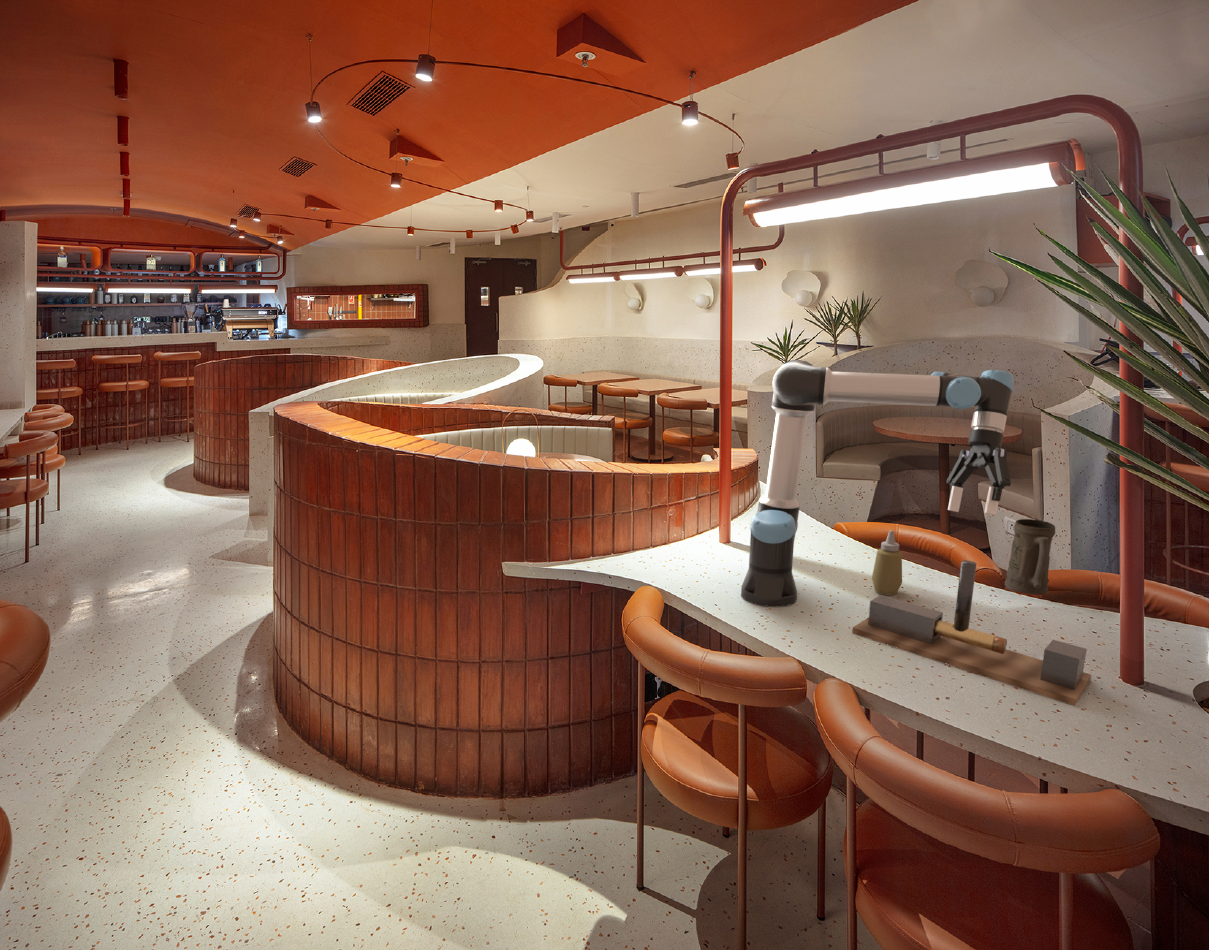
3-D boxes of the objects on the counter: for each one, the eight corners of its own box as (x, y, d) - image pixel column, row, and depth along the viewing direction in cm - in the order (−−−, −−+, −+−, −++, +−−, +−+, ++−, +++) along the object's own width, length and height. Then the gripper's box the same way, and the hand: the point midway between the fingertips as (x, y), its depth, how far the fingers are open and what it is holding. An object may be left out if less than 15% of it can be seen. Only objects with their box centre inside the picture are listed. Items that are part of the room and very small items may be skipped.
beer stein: (996, 579, 202) (1007, 516, 196) (1034, 581, 201) (1045, 517, 195) (1022, 603, 187) (1034, 535, 182) (1063, 604, 186) (1076, 536, 181)
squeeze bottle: (904, 598, 187) (910, 536, 184) (873, 595, 189) (879, 534, 185) (897, 587, 195) (903, 527, 191) (868, 585, 197) (873, 526, 193)
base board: (852, 633, 165) (852, 627, 165) (876, 616, 175) (877, 611, 175) (1074, 705, 133) (1076, 698, 133) (1090, 680, 143) (1091, 674, 142)
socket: (1040, 679, 140) (1044, 649, 139) (1048, 668, 145) (1052, 639, 143) (1074, 690, 136) (1079, 659, 135) (1081, 678, 141) (1086, 648, 139)
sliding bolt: (878, 619, 165) (885, 546, 162) (884, 615, 168) (891, 543, 164) (1000, 656, 147) (1011, 574, 143) (1005, 651, 149) (1016, 570, 145)
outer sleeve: (868, 624, 166) (870, 600, 165) (878, 618, 170) (880, 594, 169) (931, 644, 156) (934, 619, 155) (940, 637, 160) (943, 612, 159)
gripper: (1038, 431, 161) (1021, 518, 160) (966, 437, 185) (951, 512, 185) (1010, 424, 160) (993, 511, 159) (942, 431, 184) (926, 507, 183)
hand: (970, 512), depth 172 cm, fingers open, 13 cm apart
